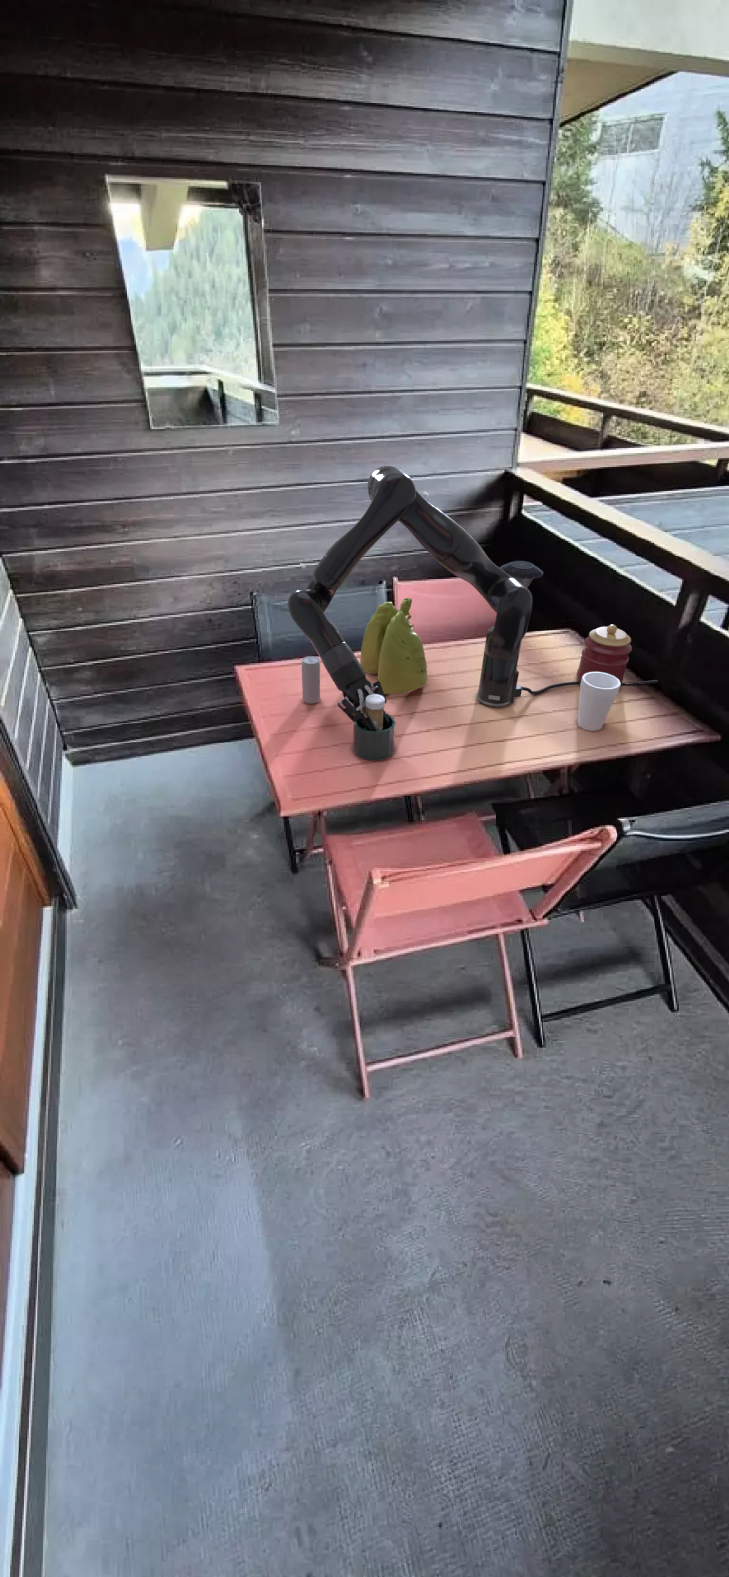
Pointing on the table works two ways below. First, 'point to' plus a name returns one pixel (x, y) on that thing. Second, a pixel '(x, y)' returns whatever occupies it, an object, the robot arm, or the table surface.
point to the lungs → (394, 649)
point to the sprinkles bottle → (375, 709)
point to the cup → (374, 741)
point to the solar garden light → (522, 571)
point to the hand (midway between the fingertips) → (380, 728)
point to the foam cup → (596, 699)
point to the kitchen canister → (605, 652)
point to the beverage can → (311, 679)
